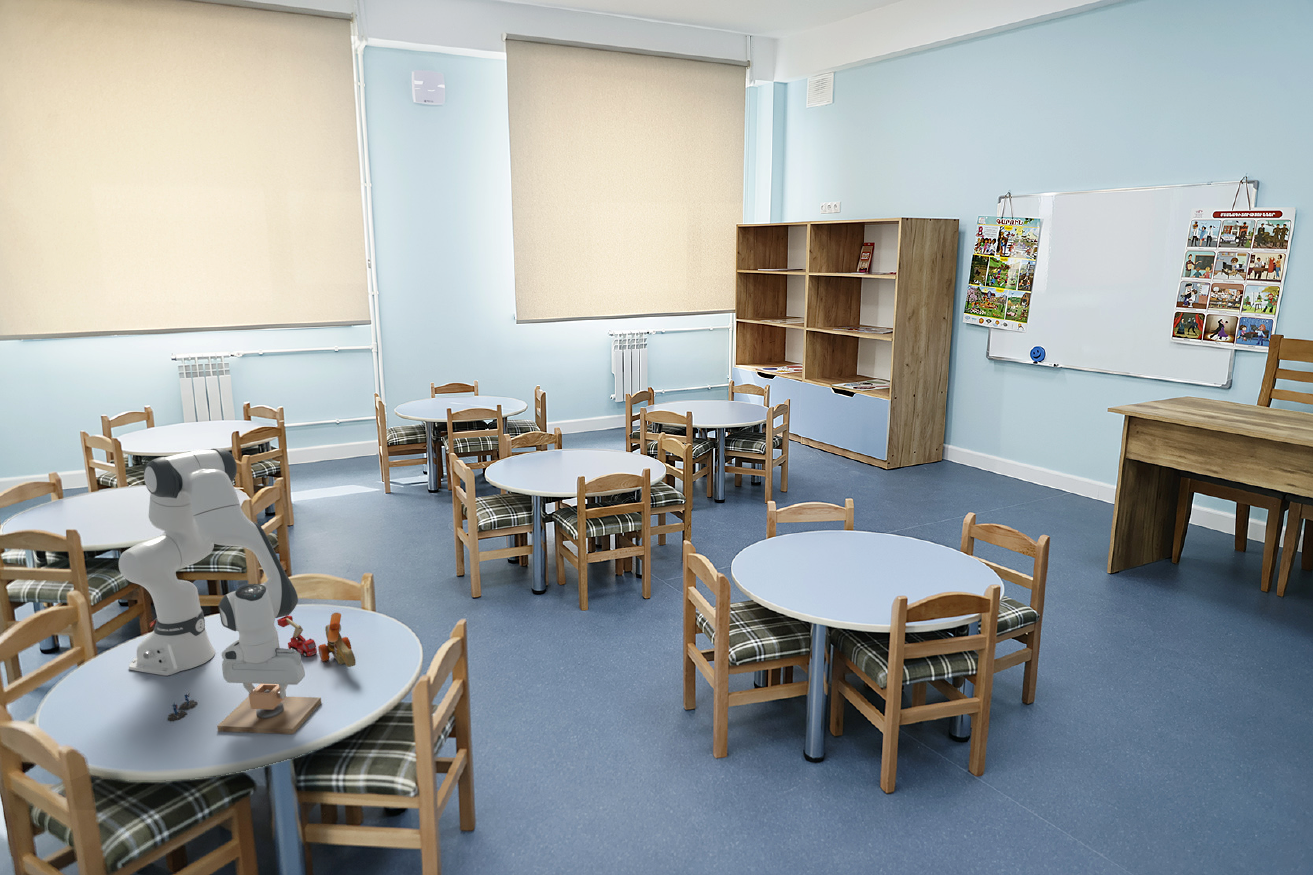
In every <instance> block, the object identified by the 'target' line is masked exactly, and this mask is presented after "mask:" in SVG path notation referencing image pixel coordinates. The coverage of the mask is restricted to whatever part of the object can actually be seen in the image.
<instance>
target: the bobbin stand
mask: <svg viewBox="0 0 1313 875" xmlns="http://www.w3.org/2000/svg"><path fill="white" fill-rule="evenodd" d="M269 692H271V690H265V691H264V692H263V693H269ZM321 704H322V698H321V697H315V696H314V697H311V696H310V697H307V696H286V697H285V698H284V699H283V700H282V701H281V702H280V703H279V704H278V705H277V706H276V707H275V708H274V709H273V710H271V709H251V706H250V700H249V695H248V696H247V697H246V698H245V699H244V700H243V701H242V702H241V703H240V704H239V705H237V706H236V707H235V709H233V710H232V712H230V713H229V714H228V715H227V716H226V717H225V718H224V719H223V720H221V721H220V722H219V724H217V725H216V727H217V728H216V729H217V732H228V733H231V732H232V733H233V732H234V733H251V734H252V733H255V734H256V733H257V734H280V735H285V734H286V735H295V733H296V732H297V731H298V730H299V729H300V728H301V727H302V725H303V724H304V723H305V721H307V720H308V719H309V717H310V716H311V715H312V714H313V713H314V712H315V710H317V708H318V707H319V706H320V705H321Z"/></svg>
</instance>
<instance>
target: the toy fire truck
mask: <svg viewBox="0 0 1313 875" xmlns="http://www.w3.org/2000/svg"><path fill="white" fill-rule="evenodd" d="M293 619H294V618H293V616H292V615H287V616H283V617H279V618H277V621H276V622H277V625H278V627H280V628H285V627H287V626H291V627H293V628H294V631H293V635H292V637H291V638H290V641H289V642H287V647H288V648H287V649H294V650H295V651H297V652H298V653H300V655H303V656H304V657H311V656H313V655H315V654H317V653H318V649H317V644H316V641H315V640H314V639H312V638H309V639H307V640H306V638H305V637H304V636H303V635H302V633H303V631H304V629H303V627H302V626H301V624H300V625H299V624H297V623H295V621H293Z"/></svg>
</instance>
